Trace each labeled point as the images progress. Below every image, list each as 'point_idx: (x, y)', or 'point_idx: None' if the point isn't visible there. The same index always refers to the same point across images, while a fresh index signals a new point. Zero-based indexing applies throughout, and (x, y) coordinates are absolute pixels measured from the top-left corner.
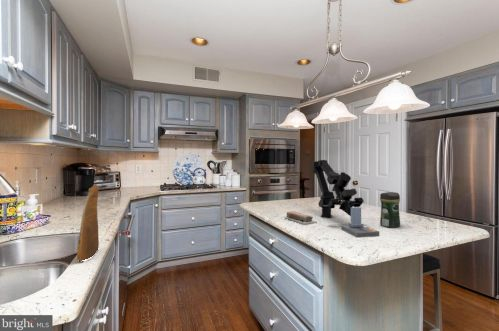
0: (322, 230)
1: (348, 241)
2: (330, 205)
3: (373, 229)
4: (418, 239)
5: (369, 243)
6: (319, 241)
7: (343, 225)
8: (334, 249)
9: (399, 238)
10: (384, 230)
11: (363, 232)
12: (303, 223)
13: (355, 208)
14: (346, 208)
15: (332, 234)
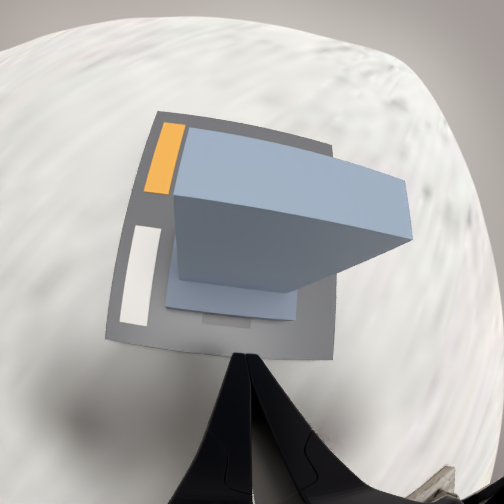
0: (430, 354)
1: (383, 140)
2: (496, 480)
3: (149, 157)
4: (56, 60)
5: (308, 84)
6: (470, 199)
7: (314, 354)
8: (440, 121)
9: (106, 77)
10: (23, 211)
11: (279, 135)
12: (452, 470)
13: (336, 167)
14: (329, 464)
15: (416, 261)
